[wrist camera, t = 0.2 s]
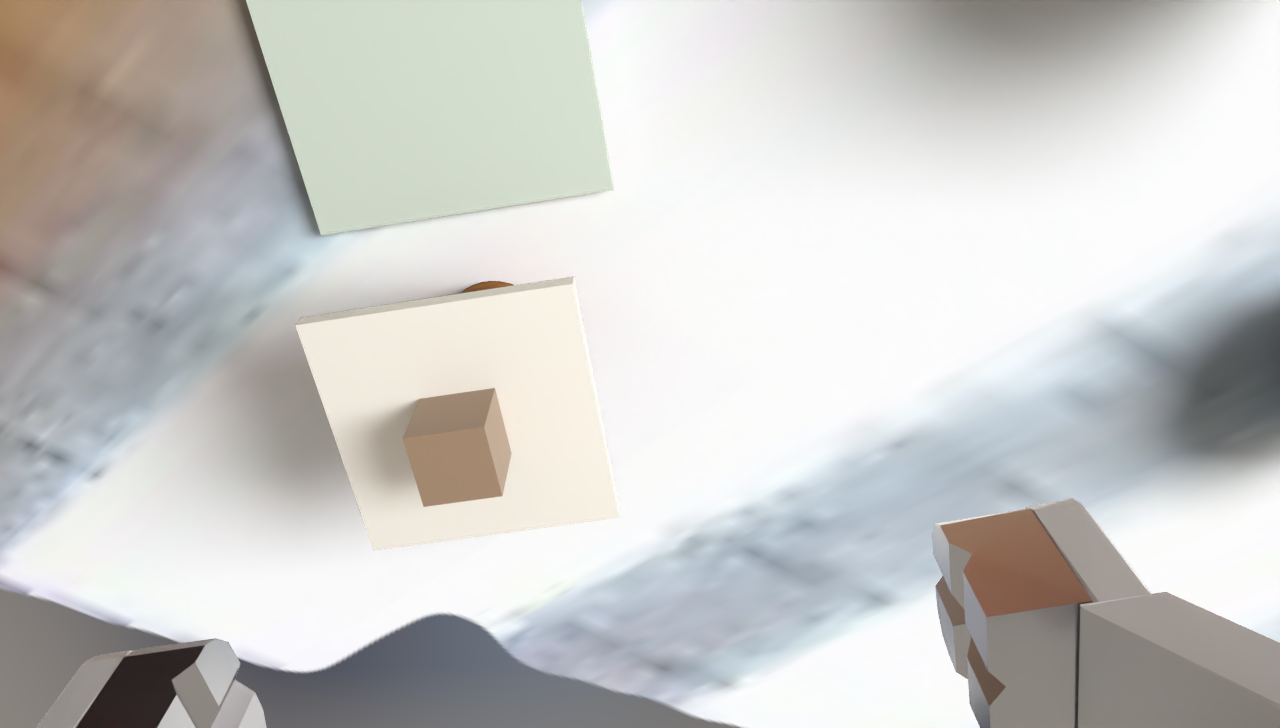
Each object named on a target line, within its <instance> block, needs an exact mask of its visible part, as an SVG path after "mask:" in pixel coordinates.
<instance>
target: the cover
mask: <svg viewBox="0 0 1280 728" xmlns="http://www.w3.org/2000/svg"><path fill="white" fill-rule="evenodd" d="M295 326H296V329H297V332H298V335H299V338H300V340H301V343H302V346H303V349H304V352H305V355H306V358H307V361H308V363H309V366H310V369H311V372H312V375H313V378H314V381H315V384H316V386H317V389H318V392H319V395H320V398H321V401H322V404H323V407H324V409H325V412H326V415H327V418H328V421H329V424H330V427H331V430H332V432H333V435H334V438H335V441H336V444H337V447H338V450H339V453H340V455H341V458H342V461H343V464H344V467H345V470H346V473H347V476H348V478H349V481H350V484H351V487H352V490H353V493H354V496H355V499H356V501H357V504H358V507H359V510H360V513H361V516H362V519H363V522H364V524H365V527H366V530H367V533H368V536H369V539H370V542H371V545H372V547H373V550H382V549H389V548H396V547H404V546H411V545H419V544H426V543H434V542H441V541H449V540H456V539H463V538H471V537H478V536H486V535H493V534H501V533H508V532H516V531H523V530H530V529H538V528H545V527H553V526H560V525H568V524H575V523H583V522H590V521H597V520H605V519H612V518H619V515H620V506H619V501H618V496H617V491H616V486H615V481H614V476H613V471H612V466H611V461H610V456H609V451H608V446H607V441H606V436H605V431H604V426H603V421H602V416H601V411H600V406H599V401H598V396H597V391H596V386H595V381H594V376H593V371H592V366H591V361H590V356H589V351H588V346H587V341H586V336H585V331H584V326H583V320H582V315H581V310H580V305H579V300H578V295H577V290H576V285H575V280H574V277H567V278H560V279H554V280H547V281H540V282H534V283H527V284H520V285H514V286H507V287H500V288H494V289H487V290H480V291H474V292H467V293H460V294H454V295H447V296H440V297H434V298H427V299H420V300H414V301H407V302H400V303H394V304H387V305H381V306H374V307H367V308H361V309H354V310H347V311H341V312H334V313H327V314H321V315H314V316H307V317H301V319H300V320H299V321H298V322H297V324H296V325H295Z"/></svg>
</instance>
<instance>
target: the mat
mask: <svg viewBox="0 0 1280 728" xmlns="http://www.w3.org/2000/svg"><path fill="white" fill-rule="evenodd" d="M246 2H247V5H248V9H249V12H250V15H251V18H252V21H253V24H254V27H255V30H256V34H257V37H258V40H259V43H260V46H261V49H262V52H263V55H264V59H265V62H266V65H267V68H268V71H269V74H270V77H271V80H272V84H273V87H274V90H275V93H276V96H277V99H278V102H279V105H280V109H281V112H282V115H283V118H284V121H285V124H286V127H287V130H288V133H289V137H290V140H291V143H292V146H293V149H294V152H295V155H296V158H297V162H298V165H299V168H300V171H301V174H302V177H303V180H304V183H305V187H306V190H307V193H308V196H309V199H310V202H311V205H312V208H313V212H314V215H315V218H316V221H317V224H318V227H319V230H320V233H321V235H327V234H333V233H340V232H346V231H353V230H359V229H366V228H372V227H378V226H385V225H391V224H398V223H404V222H411V221H417V220H423V219H430V218H436V217H443V216H449V215H455V214H462V213H468V212H475V211H481V210H488V209H494V208H500V207H507V206H513V205H520V204H526V203H533V202H539V201H545V200H552V199H558V198H565V197H571V196H577V195H584V194H590V193H597V192H603V191H610V190H613V187H614V185H613V179H612V173H611V167H610V161H609V156H608V150H607V144H606V138H605V132H604V126H603V121H602V115H601V109H600V103H599V97H598V91H597V86H596V80H595V74H594V68H593V62H592V56H591V51H590V45H589V39H588V33H587V27H586V22H585V16H584V10H583V4H582V0H246Z"/></svg>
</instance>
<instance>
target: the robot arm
mask: <svg viewBox="0 0 1280 728" xmlns="http://www.w3.org/2000/svg"><path fill="white" fill-rule="evenodd" d="M932 540H933V554H934V557H935V559H936V561H937V563H938V565H939V568H940V570H941V572H942V574H943V576H942V578H941V579H940V581H939V582H938V583H937V585H936V597H937V607H938V614H939V619H940V624H941V629H942V634H943V637H944V640H945V644H946V647H947V650H948V653H949V655H950V658H951V660H952V663H953V665H954V668H955V670H956V672H957V673H959V674H960V675H962V676H964V677H965V678H967V679H968V683H969V698H970V705H971V708H972V710H973V712H974V714H975V717H976V719H977V721H978V724H979V726H980V728H1280V643H1279V642H1276V641H1274V640H1272V639H1270V638H1267V637H1265V636H1263V635H1261V634H1259V633H1256V632H1254V631H1252V630H1250V629H1247V628H1245V627H1243V626H1241V625H1238V624H1236V623H1234V622H1232V621H1230V620H1227V619H1225V618H1223V617H1221V616H1218V615H1216V614H1214V613H1212V612H1210V611H1207V610H1205V609H1203V608H1201V607H1198V606H1196V605H1194V604H1192V603H1190V602H1187V601H1185V600H1183V599H1181V598H1178V597H1176V596H1174V595H1172V594H1170V593H1167V592H1162V593H1155V594H1151V593H1150V591H1149V590H1148V589H1147V588H1146V586H1145V585H1144V584H1143V582H1142V581H1141V580H1140V578H1139V577H1138V576H1137V575H1136V573H1135V572H1134V571H1133V569H1132V568H1131V567H1130V566H1129V564H1128V563H1127V562H1126V560H1125V559H1124V558H1123V556H1122V555H1121V554H1120V553H1119V551H1118V550H1117V549H1116V547H1115V546H1114V545H1113V544H1112V542H1111V541H1110V540H1109V538H1108V537H1107V536H1106V534H1105V533H1104V532H1103V531H1102V529H1101V528H1100V527H1099V525H1098V524H1097V523H1096V522H1095V520H1094V519H1093V518H1092V516H1091V515H1090V514H1089V512H1088V511H1087V510H1086V509H1085V507H1084V506H1083V505H1082V503H1081V502H1079V501H1077V500H1075V499H1073V498H1072V499H1066V500H1061V501H1056V502H1050V503H1045V504H1040V505H1034V506H1029V507H1026V509H1021V510H1014V511H1008V512H1002V513H996V514H990V515H984V516H978V517H972V518H966V519H960V520H954V521H948V522H942V523H936V524H934V525H933V533H932ZM239 666H240V662H239V660H238V658H237V656H236V655H235V653H234V651H233V649H232V648H231V646H230V644H229V642H226V641H223V640H219V639H209V640H201V641H194V642H187V643H179V644H172V645H165V646H157V647H150V648H143V649H137V650H135V651H124V652H118V653H111V654H104V655H98V656H96V657H94V658H92V659H90V660H88V661H86V662H84V663H83V664H82V665H81V667H80V668H79V669H78V671H77V672H76V674H75V675H74V676H73V678H72V679H71V680H70V682H69V683H68V685H67V686H66V687H65V689H64V690H63V691H62V693H61V694H60V695H59V697H58V698H57V699H56V701H55V702H54V704H53V705H52V706H51V708H50V709H49V711H48V712H47V713H46V715H45V716H44V717H43V719H42V720H41V721H40V723H39V724H38V725H37V727H36V728H267V727H266V723H265V718H264V713H263V708H262V706H261V704H260V702H259V700H258V698H257V696H256V694H255V692H254V691H252V690H251V689H249V688H247V687H246V686H244V685H243V684H241V683H240V682H238V681H236V680H235V678H236V675H237V672H238V669H239Z"/></svg>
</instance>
